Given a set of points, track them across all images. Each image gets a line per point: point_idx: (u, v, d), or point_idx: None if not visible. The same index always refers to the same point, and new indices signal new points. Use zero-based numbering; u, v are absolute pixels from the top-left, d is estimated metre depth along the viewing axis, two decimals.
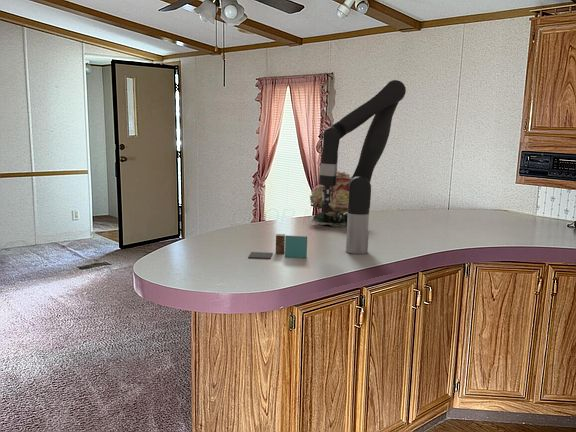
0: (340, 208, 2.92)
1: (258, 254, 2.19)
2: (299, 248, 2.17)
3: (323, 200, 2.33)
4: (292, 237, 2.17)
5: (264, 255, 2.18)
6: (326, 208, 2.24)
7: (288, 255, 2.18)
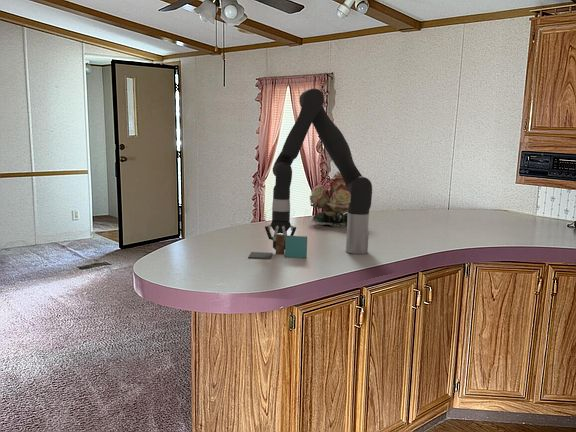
0: (340, 208, 2.92)
1: (258, 254, 2.19)
2: (299, 248, 2.17)
3: (275, 239, 2.24)
4: (292, 237, 2.17)
5: (264, 255, 2.18)
6: None
7: (288, 255, 2.18)
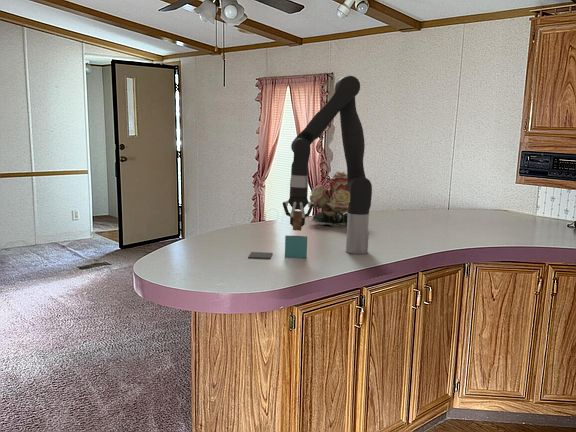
0: (340, 208, 2.92)
1: (258, 254, 2.19)
2: (299, 248, 2.17)
3: (292, 216, 2.24)
4: (292, 237, 2.17)
5: (264, 255, 2.18)
6: (304, 221, 2.25)
7: (288, 255, 2.18)
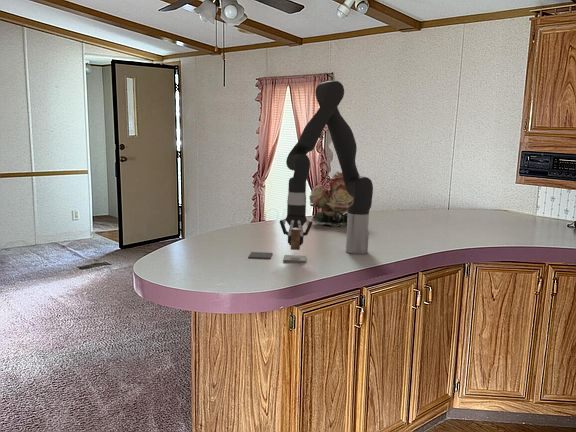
0: (339, 208, 2.93)
1: (258, 254, 2.19)
2: None
3: (290, 234, 2.15)
4: None
5: (264, 255, 2.18)
6: None
7: None
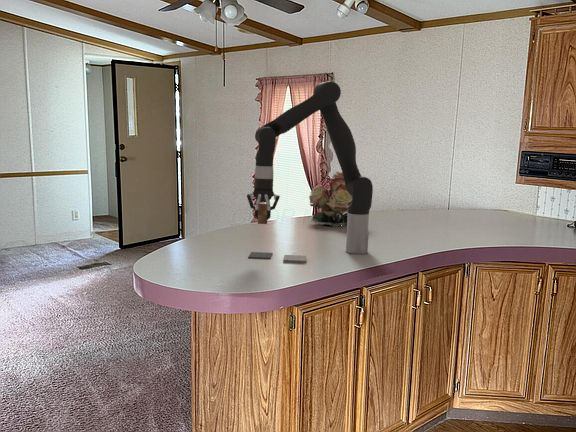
0: (339, 208, 2.93)
1: (258, 254, 2.19)
2: None
3: (257, 209, 2.15)
4: None
5: (264, 255, 2.18)
6: (270, 214, 2.16)
7: None
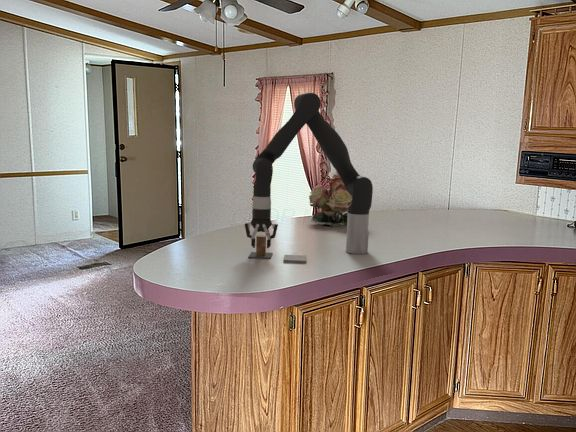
0: (339, 208, 2.93)
1: None
2: None
3: (254, 237, 2.17)
4: None
5: None
6: None
7: None
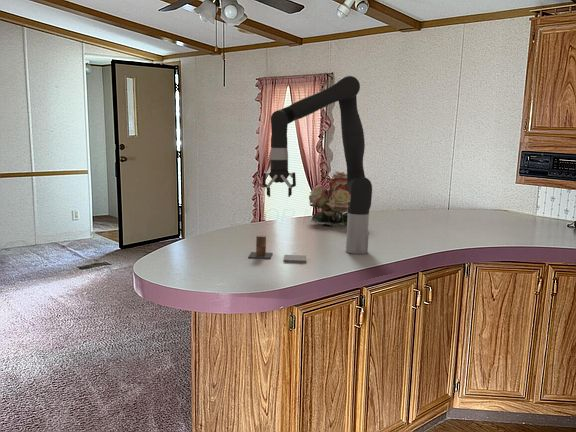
0: (339, 208, 2.93)
1: None
2: None
3: (269, 186, 2.25)
4: None
5: None
6: (291, 191, 2.25)
7: None
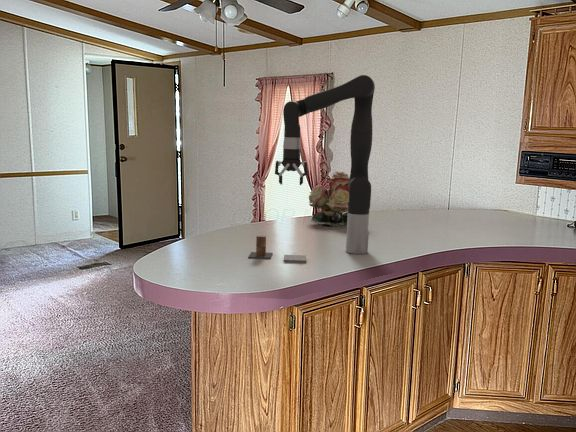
0: (339, 208, 2.93)
1: None
2: None
3: (281, 175, 2.33)
4: None
5: None
6: (302, 180, 2.34)
7: None
